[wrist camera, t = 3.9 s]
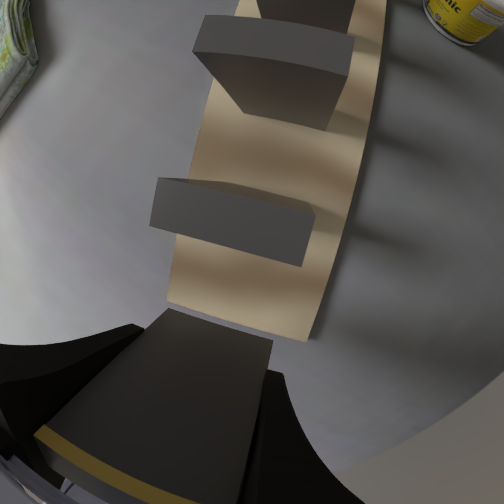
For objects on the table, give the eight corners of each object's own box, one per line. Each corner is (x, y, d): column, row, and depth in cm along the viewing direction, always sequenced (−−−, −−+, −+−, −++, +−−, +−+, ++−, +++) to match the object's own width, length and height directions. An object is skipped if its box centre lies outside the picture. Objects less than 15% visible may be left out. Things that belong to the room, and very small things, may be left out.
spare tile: (264, 368, 13) (217, 544, 4) (164, 336, 13) (48, 466, 5) (273, 340, 13) (228, 529, 4) (168, 307, 13) (33, 434, 4)
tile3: (325, 131, 16) (348, 76, 7) (243, 113, 16) (192, 51, 8) (330, 107, 16) (355, 36, 7) (249, 90, 16) (205, 14, 7)
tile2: (300, 228, 17) (301, 267, 9) (220, 207, 18) (149, 225, 9) (307, 202, 17) (316, 215, 8) (226, 181, 17) (158, 177, 9)
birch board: (306, 338, 19) (306, 342, 19) (170, 297, 20) (166, 300, 20) (387, -54, 11) (388, -57, 11) (274, -75, 12) (274, -79, 12)
